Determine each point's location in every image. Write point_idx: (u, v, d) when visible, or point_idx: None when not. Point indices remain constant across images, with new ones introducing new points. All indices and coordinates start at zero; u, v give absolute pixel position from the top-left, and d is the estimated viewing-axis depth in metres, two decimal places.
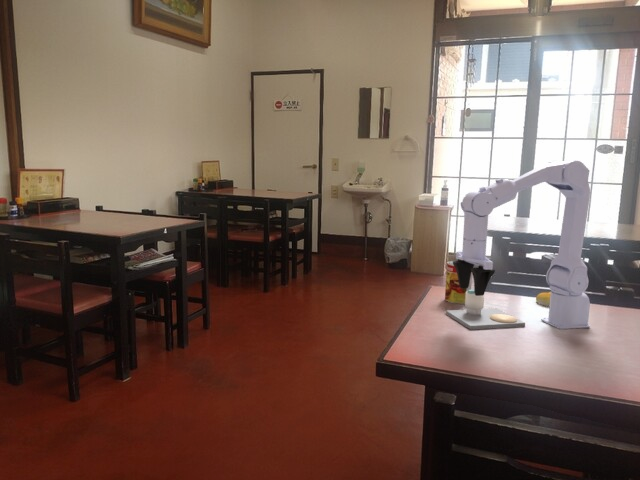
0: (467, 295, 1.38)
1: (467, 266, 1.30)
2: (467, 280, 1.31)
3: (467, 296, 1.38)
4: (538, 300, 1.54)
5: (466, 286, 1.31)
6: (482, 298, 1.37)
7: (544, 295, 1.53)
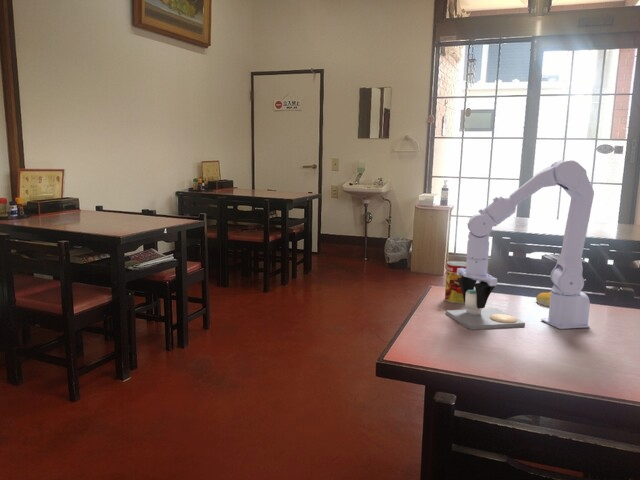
0: (467, 295, 1.38)
1: (471, 282, 1.41)
2: None
3: (467, 296, 1.38)
4: (538, 300, 1.54)
5: None
6: None
7: (544, 295, 1.53)
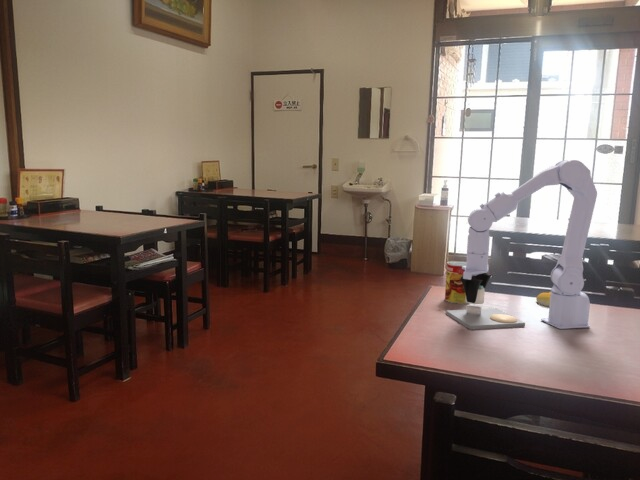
0: None
1: (481, 278, 1.40)
2: None
3: None
4: (538, 300, 1.54)
5: None
6: None
7: (544, 295, 1.53)
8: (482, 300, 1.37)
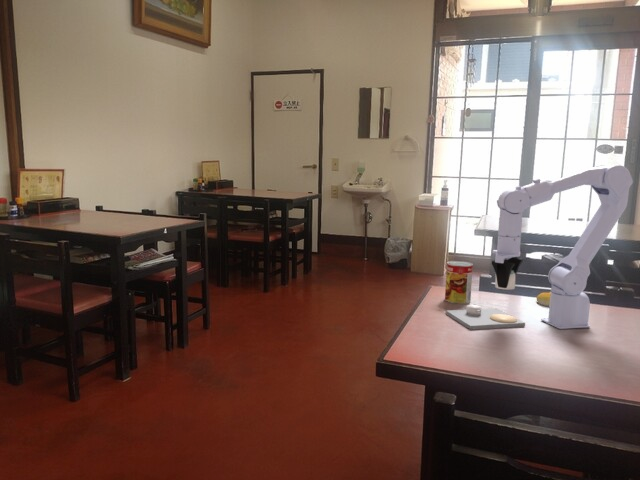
0: None
1: (512, 263, 1.34)
2: None
3: None
4: (539, 300, 1.54)
5: None
6: None
7: (545, 295, 1.53)
8: (513, 285, 1.32)
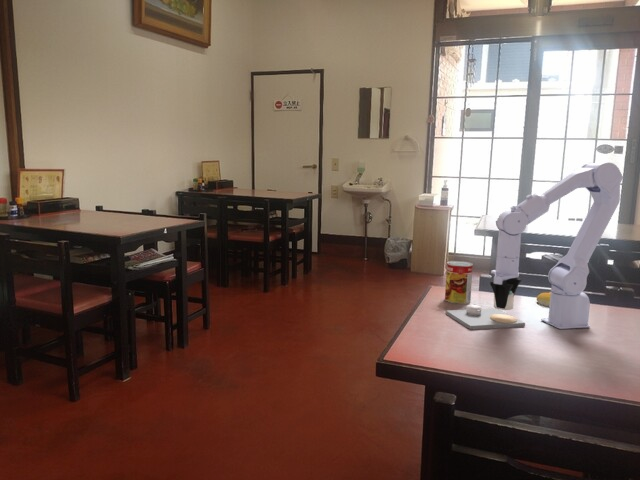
0: None
1: (511, 283, 1.35)
2: None
3: None
4: (539, 300, 1.54)
5: None
6: None
7: (545, 295, 1.53)
8: (511, 306, 1.33)
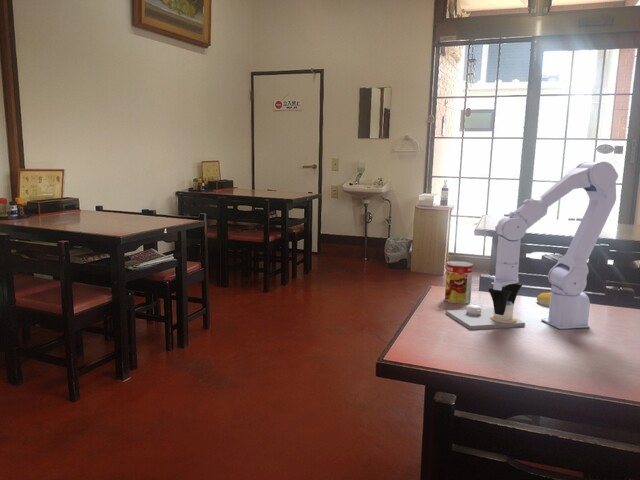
0: None
1: (512, 288, 1.36)
2: (511, 301, 1.37)
3: None
4: (539, 300, 1.54)
5: None
6: None
7: (545, 295, 1.53)
8: (511, 316, 1.33)
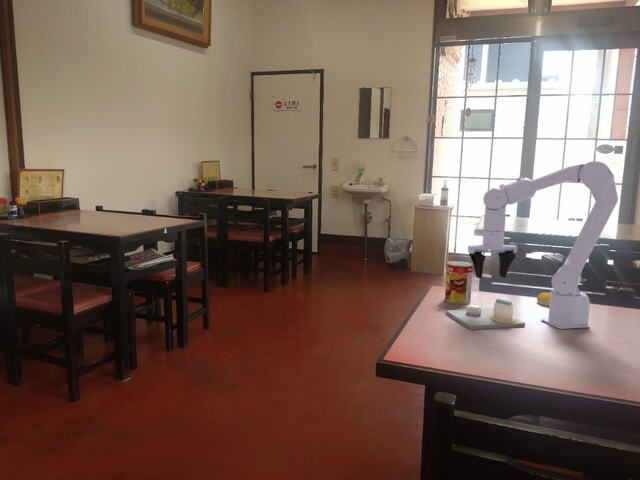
0: None
1: (504, 257, 1.43)
2: (503, 270, 1.43)
3: None
4: (539, 300, 1.54)
5: (502, 275, 1.44)
6: (503, 309, 1.32)
7: (545, 295, 1.53)
8: (511, 316, 1.33)
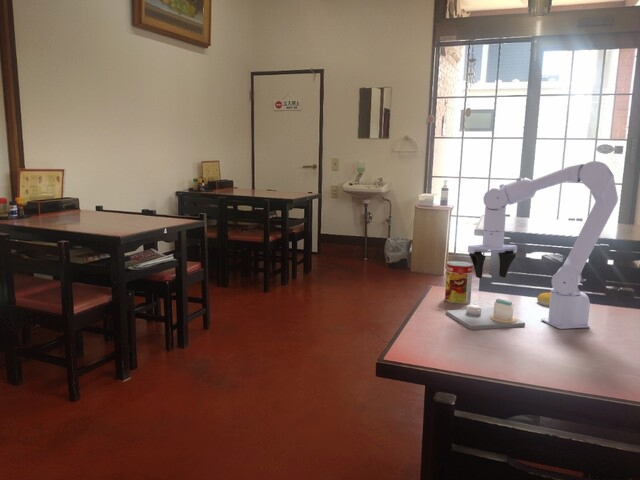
0: None
1: (504, 257, 1.43)
2: (503, 270, 1.43)
3: None
4: (539, 300, 1.54)
5: (502, 275, 1.44)
6: (503, 309, 1.32)
7: (545, 295, 1.53)
8: (511, 316, 1.33)
